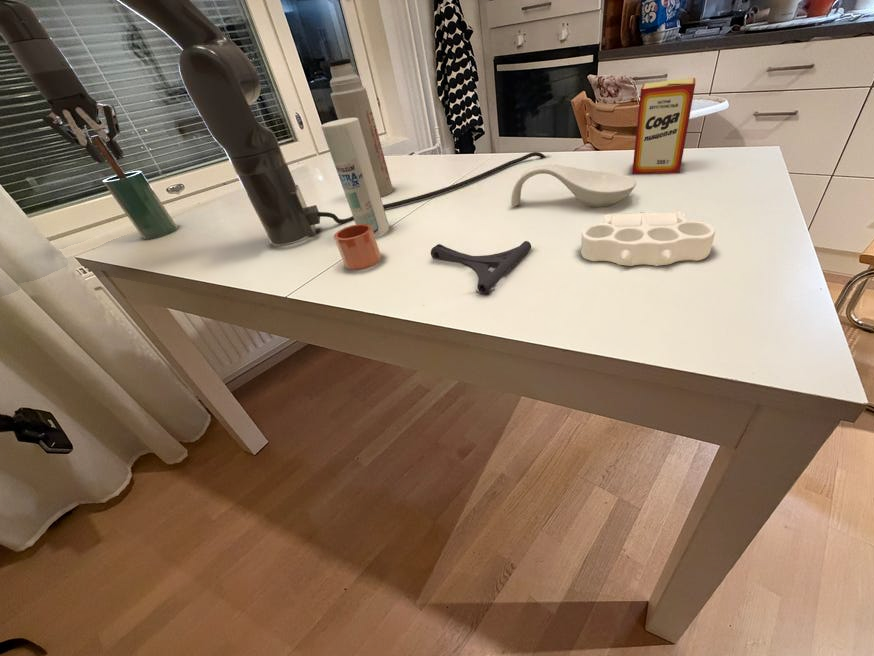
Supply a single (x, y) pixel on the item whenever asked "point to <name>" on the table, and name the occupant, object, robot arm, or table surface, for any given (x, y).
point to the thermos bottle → (359, 116)
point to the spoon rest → (582, 184)
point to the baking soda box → (662, 126)
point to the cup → (141, 204)
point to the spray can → (356, 172)
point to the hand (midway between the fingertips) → (111, 160)
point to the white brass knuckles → (647, 239)
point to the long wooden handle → (108, 156)
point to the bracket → (484, 263)
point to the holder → (358, 246)
